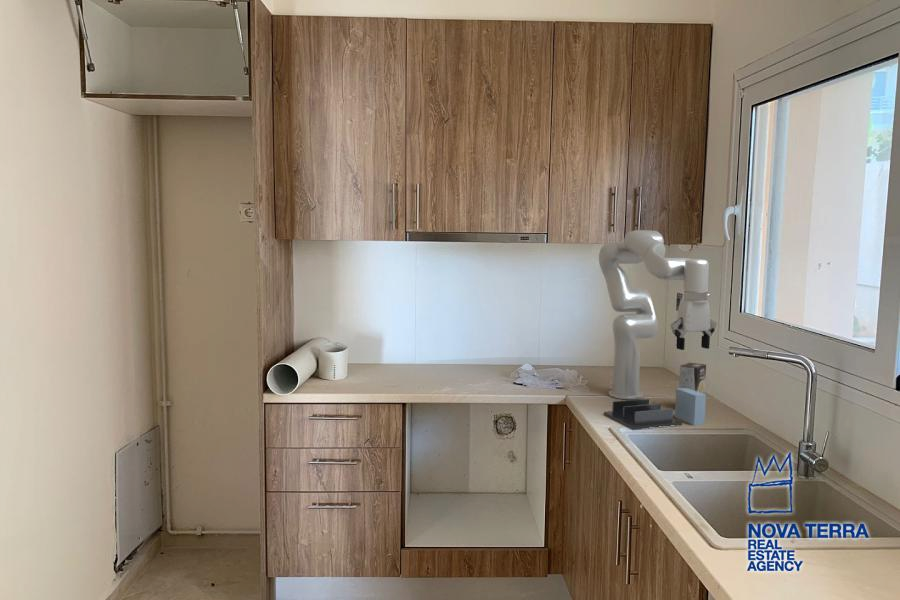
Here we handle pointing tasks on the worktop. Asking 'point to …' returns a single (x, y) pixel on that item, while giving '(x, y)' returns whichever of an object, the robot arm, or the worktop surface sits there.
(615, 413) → the dish rack
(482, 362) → the worktop surface
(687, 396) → the blue-grey square block
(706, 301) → the robot arm
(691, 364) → the coffee box
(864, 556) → the worktop surface
